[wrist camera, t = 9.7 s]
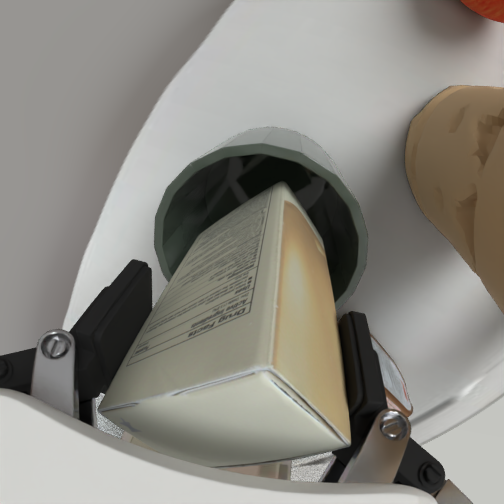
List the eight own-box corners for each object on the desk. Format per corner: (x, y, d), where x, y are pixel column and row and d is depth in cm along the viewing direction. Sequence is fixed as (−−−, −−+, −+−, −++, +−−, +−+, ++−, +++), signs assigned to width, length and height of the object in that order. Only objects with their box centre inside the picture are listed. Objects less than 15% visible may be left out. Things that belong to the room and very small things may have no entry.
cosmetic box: (239, 285, 19) (185, 471, 8) (196, 233, 17) (87, 411, 7) (329, 238, 16) (358, 453, 6) (288, 174, 15) (266, 373, 4)
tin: (319, 312, 27) (322, 384, 20) (346, 296, 26) (358, 367, 19) (384, 380, 31) (394, 437, 24) (406, 368, 30) (420, 426, 23)
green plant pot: (359, 148, 20) (399, 181, 12) (318, 272, 25) (324, 349, 17) (213, 114, 20) (162, 126, 12) (195, 242, 25) (154, 309, 18)
